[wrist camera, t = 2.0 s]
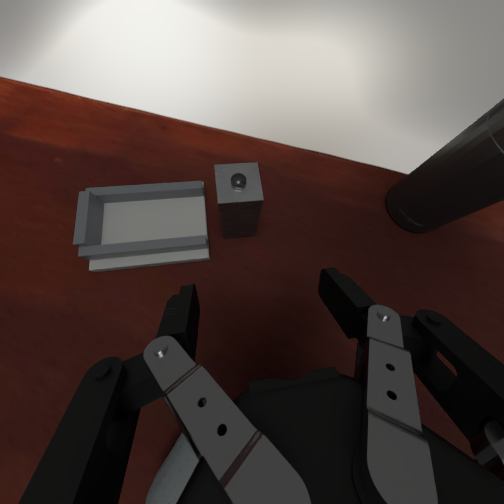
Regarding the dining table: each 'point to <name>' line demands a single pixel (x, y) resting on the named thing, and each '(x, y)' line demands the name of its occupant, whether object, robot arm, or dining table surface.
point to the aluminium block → (239, 198)
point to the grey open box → (142, 225)
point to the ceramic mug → (173, 474)
